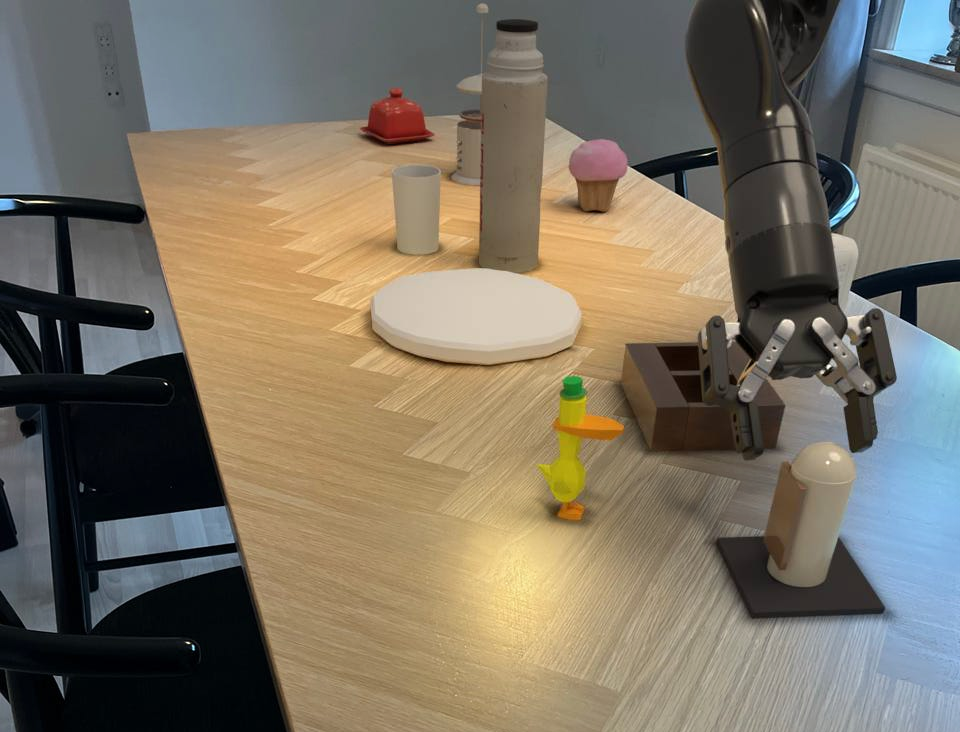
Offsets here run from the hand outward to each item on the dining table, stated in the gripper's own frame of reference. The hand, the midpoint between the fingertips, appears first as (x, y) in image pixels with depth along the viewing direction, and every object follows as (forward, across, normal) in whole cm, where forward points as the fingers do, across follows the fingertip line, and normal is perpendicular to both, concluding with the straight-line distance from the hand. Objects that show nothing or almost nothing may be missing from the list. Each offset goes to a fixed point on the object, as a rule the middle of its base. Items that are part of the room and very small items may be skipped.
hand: (808, 453), depth 72 cm
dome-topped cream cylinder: (+8, 0, +4) cm, 9 cm away
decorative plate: (-30, -16, +44) cm, 55 cm away
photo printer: (-21, +19, +35) cm, 45 cm away
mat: (+8, 0, +5) cm, 10 cm away
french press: (-76, -4, +90) cm, 118 cm away
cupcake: (-61, +10, +74) cm, 97 cm away
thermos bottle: (-44, -8, +58) cm, 73 cm away
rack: (-11, +2, +24) cm, 27 cm away
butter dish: (-97, -15, +110) cm, 147 cm away
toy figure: (0, -15, +13) cm, 20 cm away
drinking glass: (-50, -20, +64) cm, 83 cm away
